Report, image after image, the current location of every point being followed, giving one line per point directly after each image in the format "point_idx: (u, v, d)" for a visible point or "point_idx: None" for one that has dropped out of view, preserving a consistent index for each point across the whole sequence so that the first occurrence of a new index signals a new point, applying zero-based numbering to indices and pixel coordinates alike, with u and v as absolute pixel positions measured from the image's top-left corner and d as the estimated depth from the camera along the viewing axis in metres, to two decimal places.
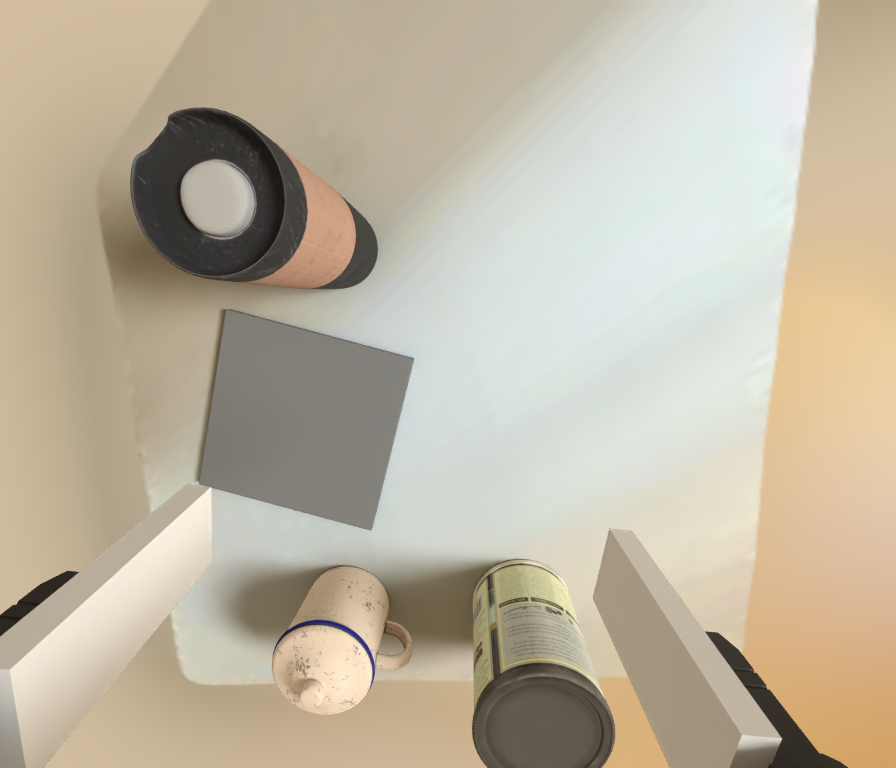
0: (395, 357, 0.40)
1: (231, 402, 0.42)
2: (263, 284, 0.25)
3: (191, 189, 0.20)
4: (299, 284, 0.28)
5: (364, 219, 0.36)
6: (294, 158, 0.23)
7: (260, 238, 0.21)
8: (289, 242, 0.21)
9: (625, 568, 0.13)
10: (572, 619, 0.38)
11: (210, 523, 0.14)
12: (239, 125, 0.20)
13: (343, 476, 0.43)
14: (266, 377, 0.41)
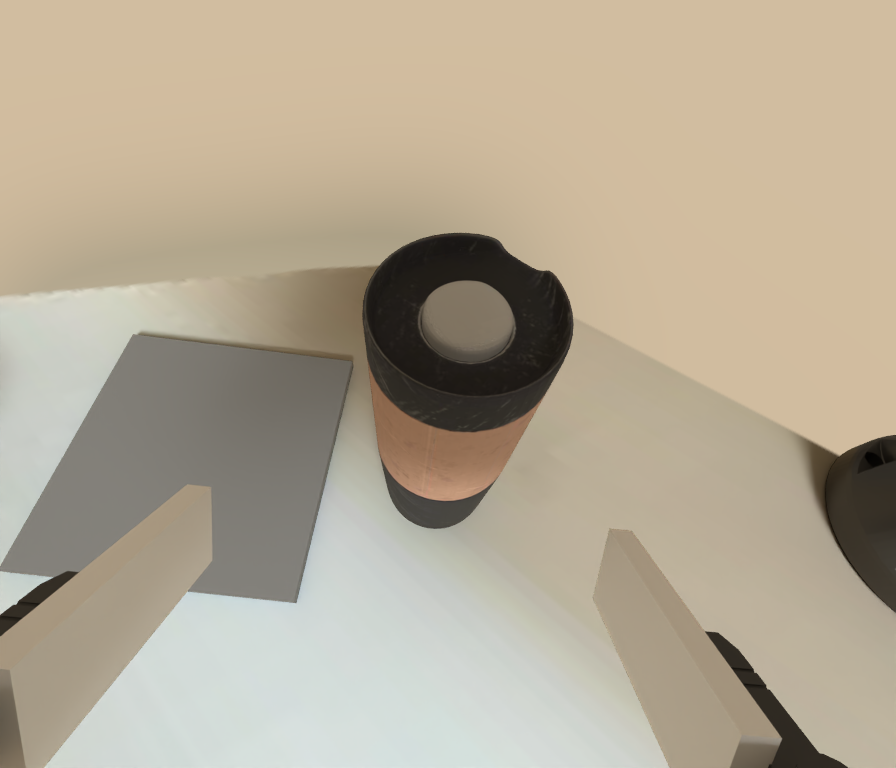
0: (296, 573, 0.28)
1: (239, 367, 0.35)
2: None
3: (473, 291, 0.16)
4: (378, 431, 0.21)
5: (474, 507, 0.29)
6: None
7: (426, 369, 0.15)
8: (426, 407, 0.14)
9: (625, 568, 0.13)
10: None
11: (210, 523, 0.14)
12: (561, 342, 0.15)
13: (110, 515, 0.28)
14: (270, 404, 0.33)
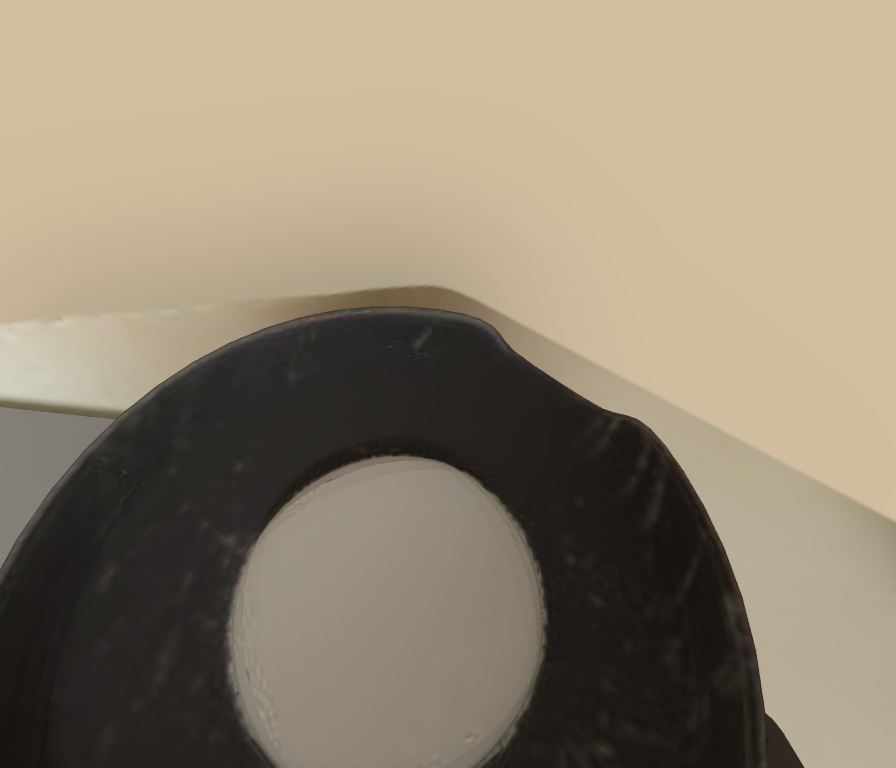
0: None
1: None
2: None
3: (411, 506, 0.05)
4: None
5: None
6: None
7: None
8: None
9: None
10: None
11: None
12: (702, 693, 0.05)
13: None
14: None
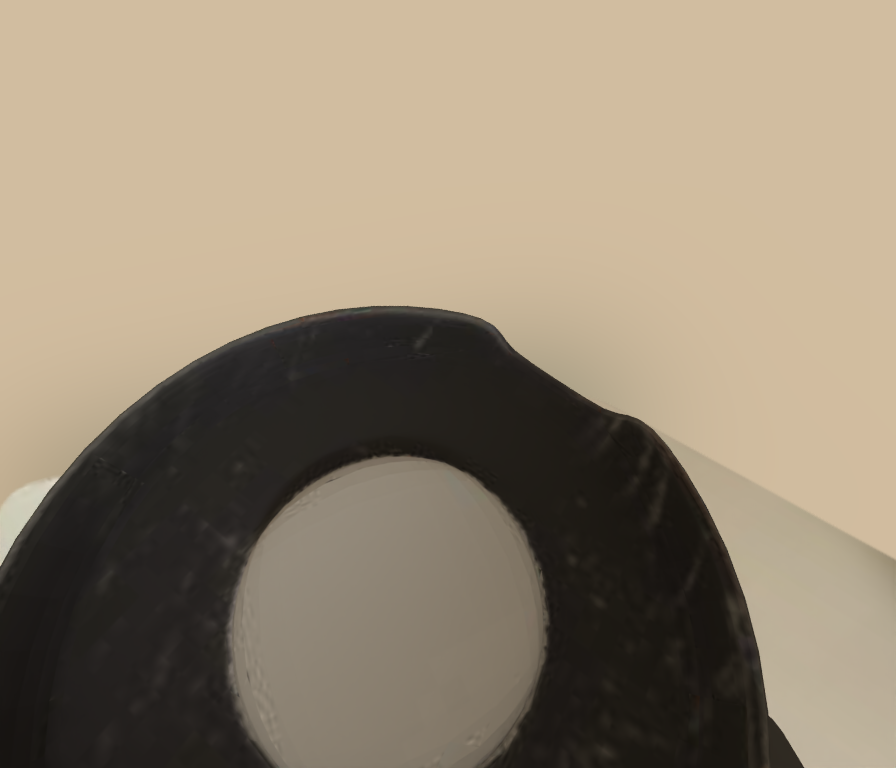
0: None
1: None
2: None
3: (412, 507, 0.05)
4: None
5: None
6: None
7: None
8: None
9: None
10: None
11: None
12: (705, 695, 0.05)
13: None
14: None
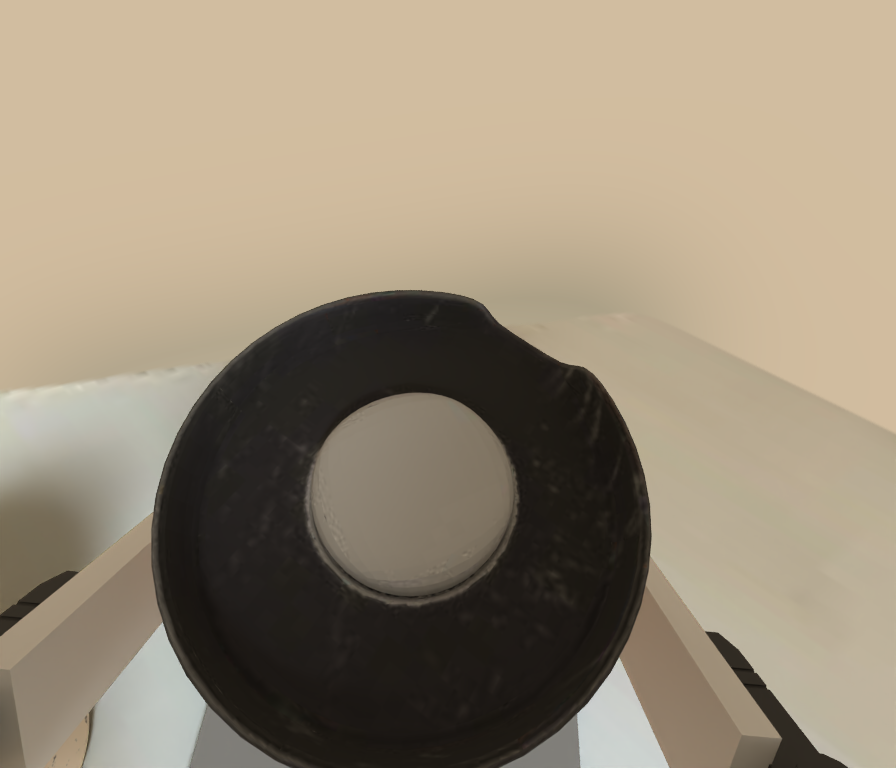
0: None
1: None
2: None
3: (426, 421, 0.07)
4: None
5: None
6: None
7: (308, 633, 0.06)
8: None
9: None
10: None
11: None
12: (620, 540, 0.07)
13: None
14: None
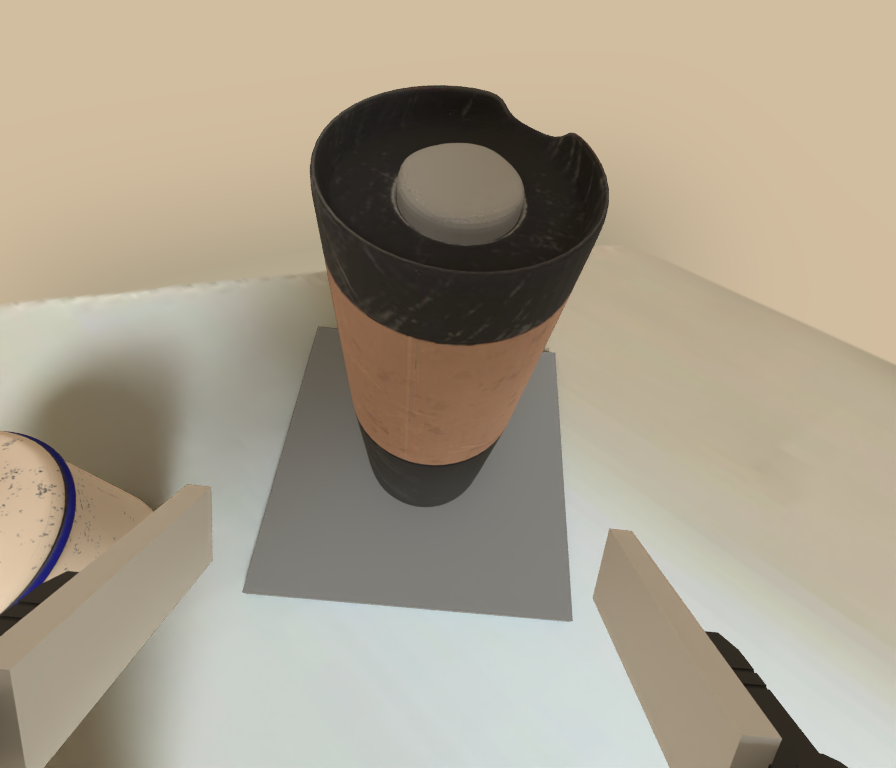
0: (565, 588, 0.25)
1: None
2: None
3: (468, 152, 0.11)
4: (348, 373, 0.16)
5: (470, 481, 0.24)
6: (549, 336, 0.14)
7: (401, 250, 0.10)
8: (402, 300, 0.10)
9: (625, 568, 0.13)
10: None
11: (210, 523, 0.14)
12: (590, 219, 0.11)
13: (347, 526, 0.25)
14: None
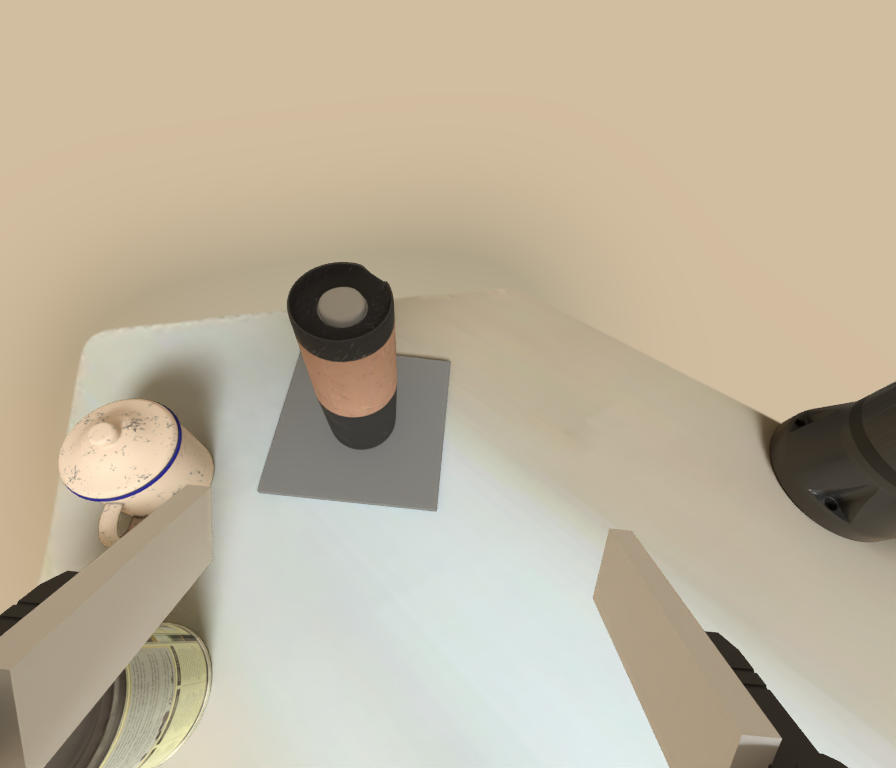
0: (435, 493, 0.44)
1: None
2: None
3: (345, 292, 0.31)
4: None
5: (383, 433, 0.44)
6: (386, 357, 0.33)
7: (318, 330, 0.30)
8: (316, 347, 0.30)
9: (625, 568, 0.13)
10: (142, 762, 0.28)
11: (210, 523, 0.14)
12: (387, 317, 0.31)
13: (315, 458, 0.45)
14: (401, 390, 0.50)
